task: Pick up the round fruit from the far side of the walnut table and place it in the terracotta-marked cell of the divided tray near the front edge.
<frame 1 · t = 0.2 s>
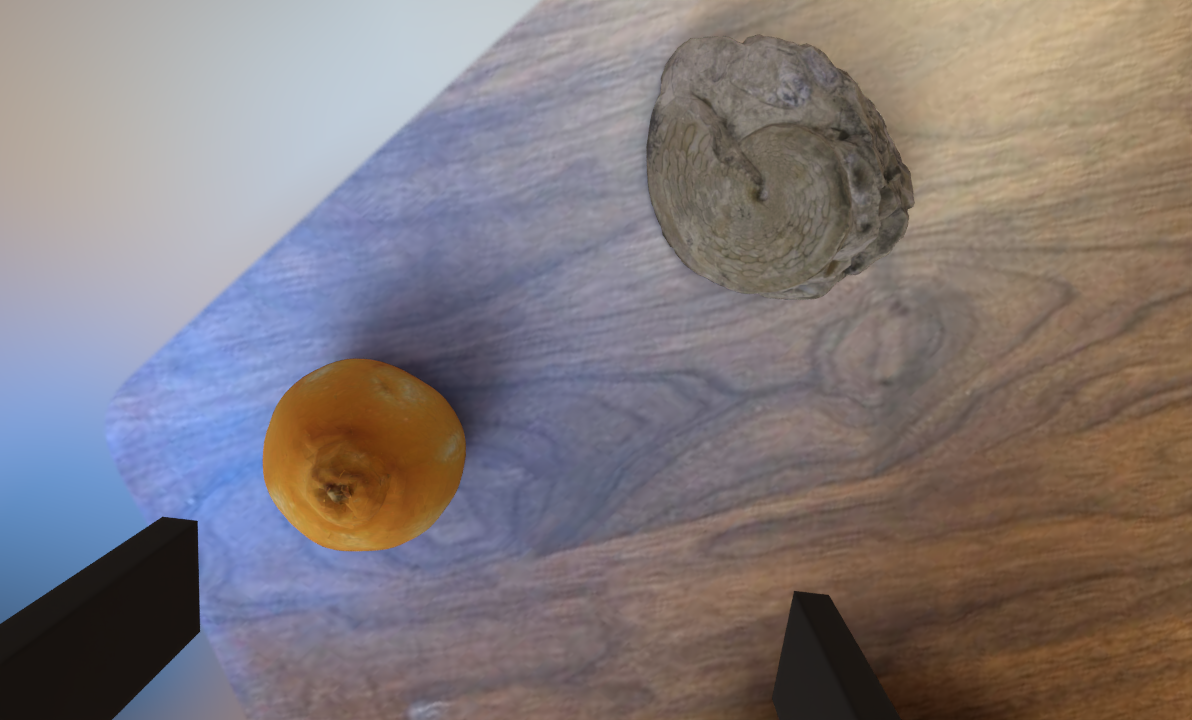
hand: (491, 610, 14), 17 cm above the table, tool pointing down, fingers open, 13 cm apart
fruit: (394, 429, 31), on the table
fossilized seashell: (769, 172, 28), on the table
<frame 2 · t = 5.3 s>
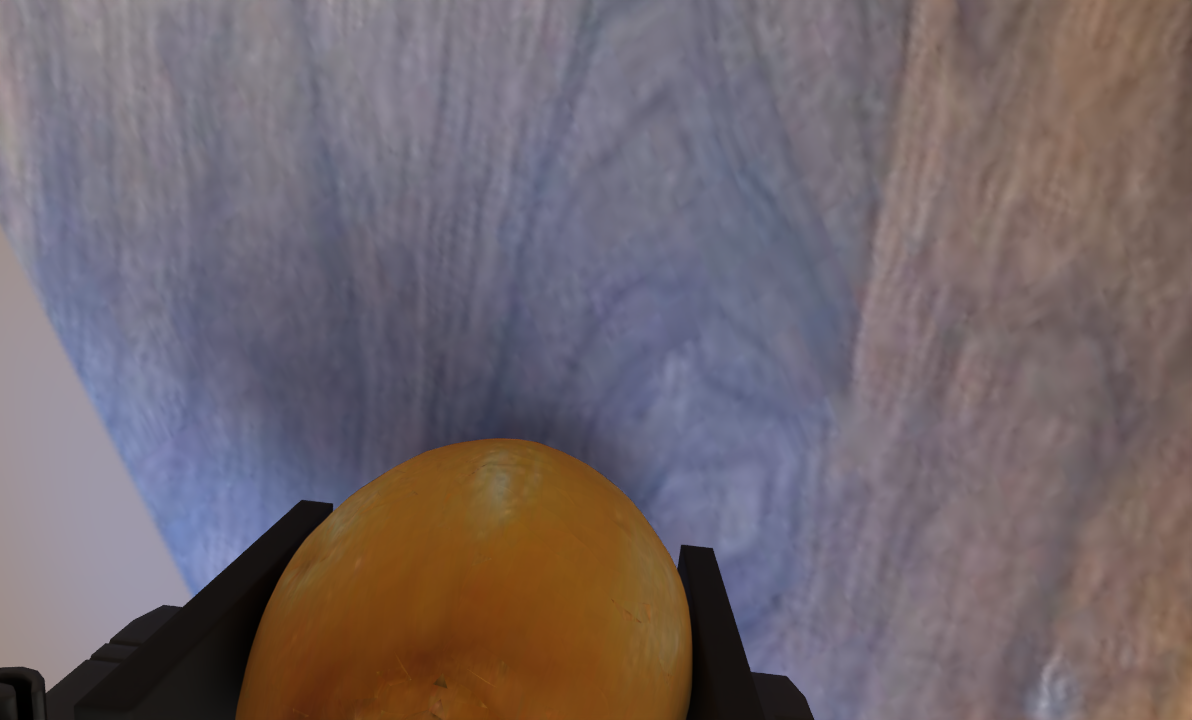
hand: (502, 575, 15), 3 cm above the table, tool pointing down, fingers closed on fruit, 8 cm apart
fruit: (508, 559, 16), point 2 cm above the table, touching gripper
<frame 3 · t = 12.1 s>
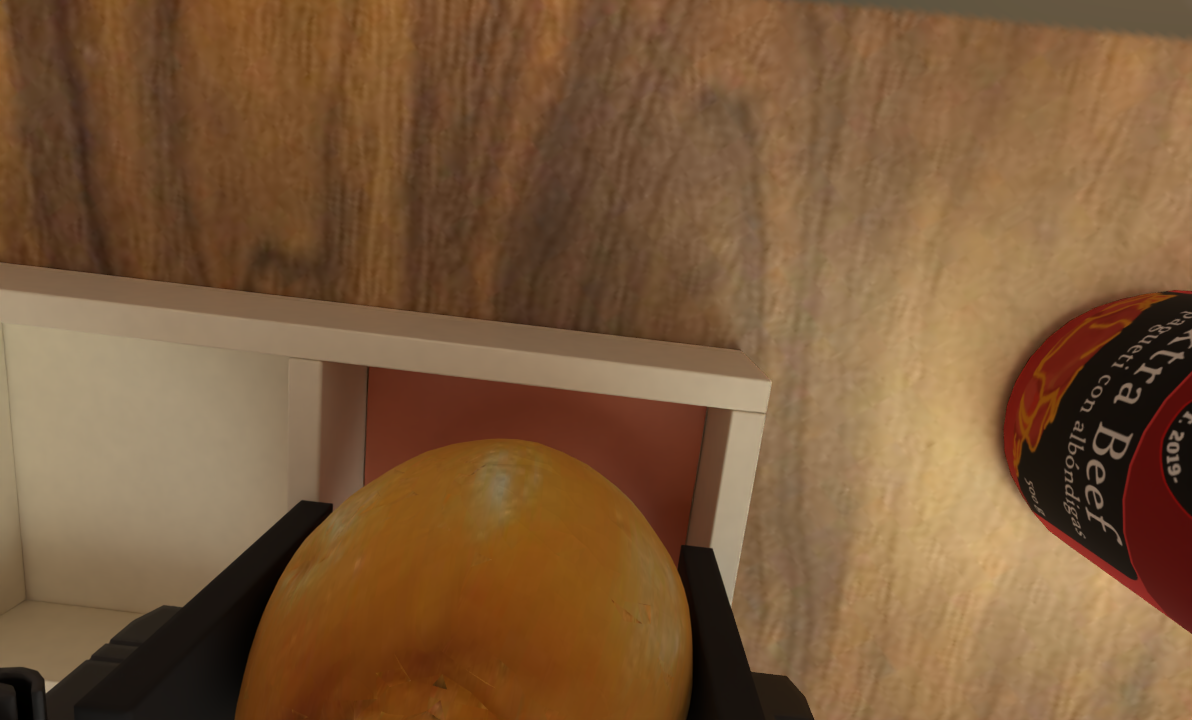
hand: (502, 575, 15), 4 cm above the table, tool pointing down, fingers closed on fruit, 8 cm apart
canned food: (1127, 421, 18), on the table
fruit: (508, 559, 16), point 3 cm above the table, touching gripper
divided tray: (357, 488, 19), on the table
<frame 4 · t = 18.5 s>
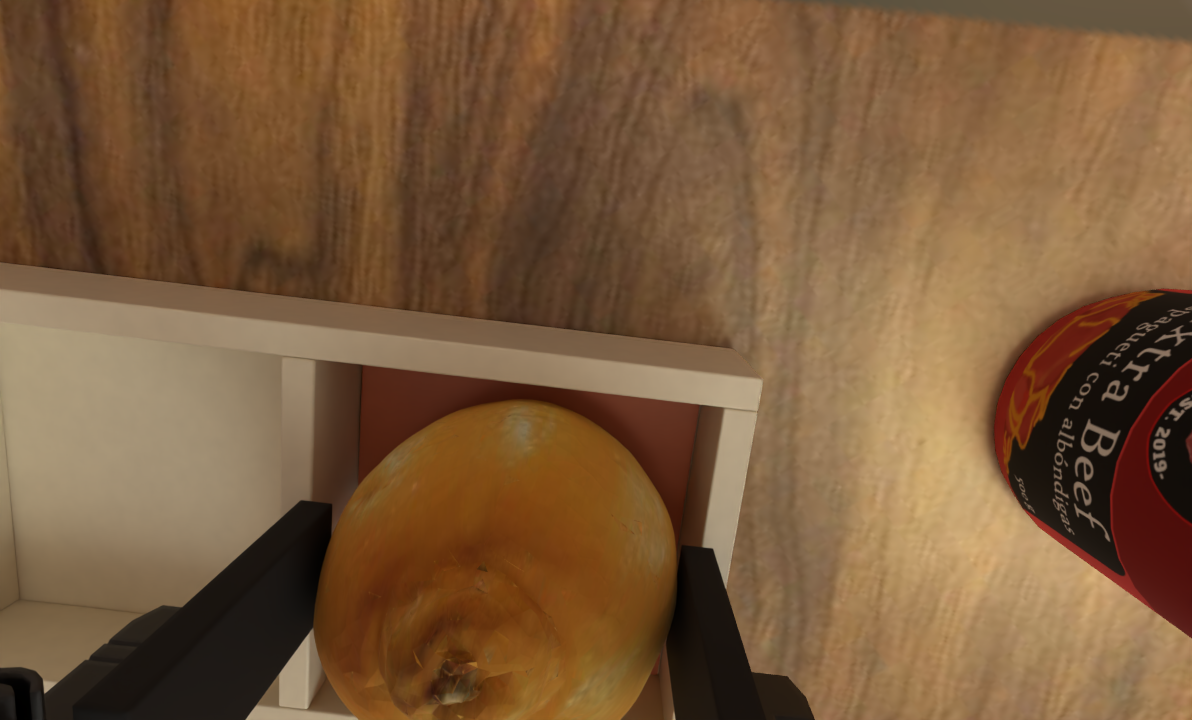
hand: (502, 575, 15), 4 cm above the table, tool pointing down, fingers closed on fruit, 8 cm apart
canned food: (1116, 419, 18), on the table
fruit: (524, 508, 18), point 1 cm above the table, touching gripper
divided tray: (351, 486, 19), on the table
when the fingers open (5 cm above the table, at t = 18.8 s): fruit stays where it is, resting on divided tray.
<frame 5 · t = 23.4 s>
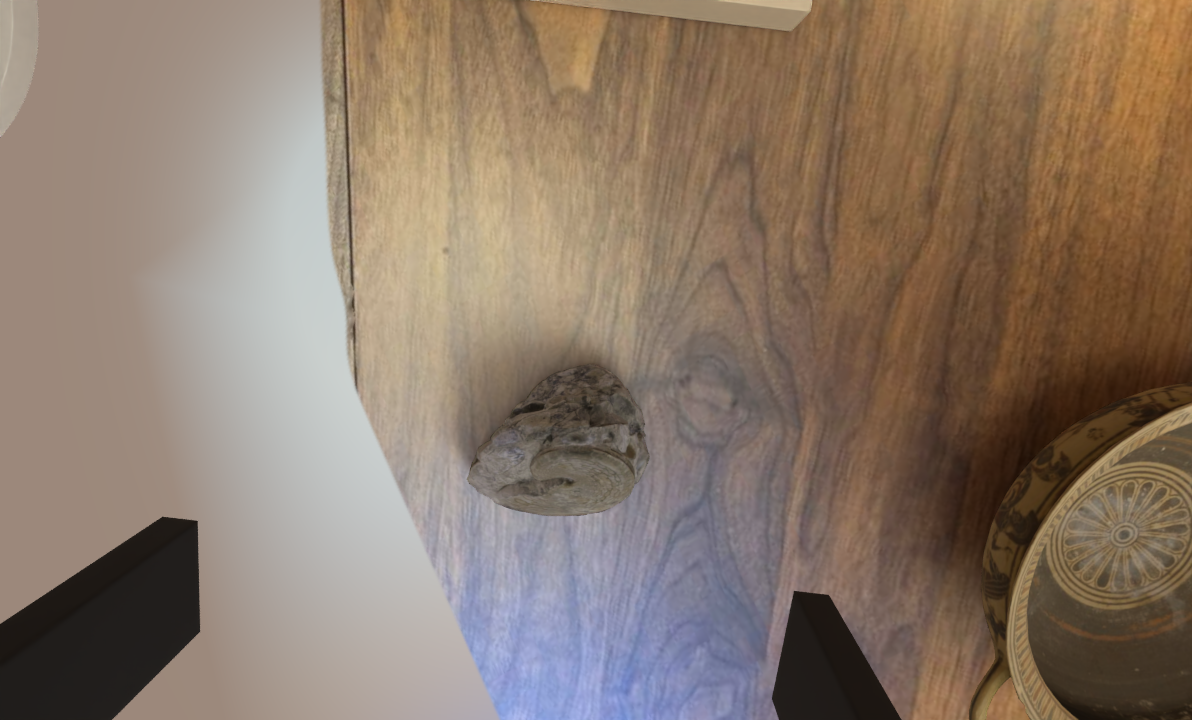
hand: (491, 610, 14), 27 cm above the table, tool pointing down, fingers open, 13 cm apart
ceramic bowl: (1100, 517, 42), on the table
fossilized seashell: (563, 435, 41), on the table
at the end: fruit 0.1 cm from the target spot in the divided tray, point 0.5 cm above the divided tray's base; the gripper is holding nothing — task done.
